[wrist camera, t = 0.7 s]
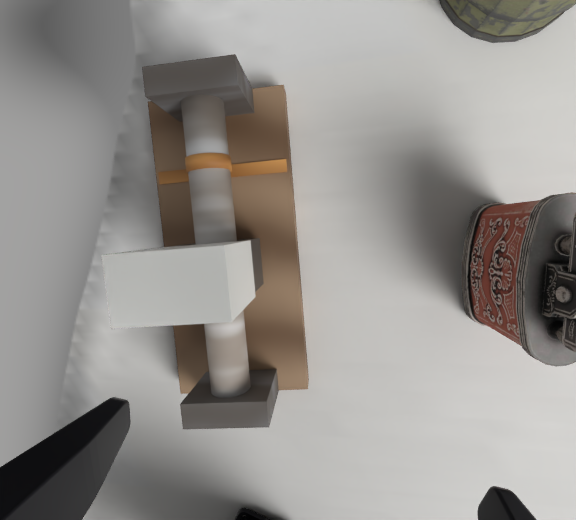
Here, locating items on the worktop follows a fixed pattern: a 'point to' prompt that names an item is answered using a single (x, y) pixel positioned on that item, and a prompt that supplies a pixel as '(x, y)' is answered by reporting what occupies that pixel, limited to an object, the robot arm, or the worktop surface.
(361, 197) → the worktop surface
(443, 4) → the thermos
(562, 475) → the worktop surface
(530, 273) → the lighter
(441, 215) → the worktop surface
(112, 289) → the white slider block
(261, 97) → the pipe stand
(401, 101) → the worktop surface
